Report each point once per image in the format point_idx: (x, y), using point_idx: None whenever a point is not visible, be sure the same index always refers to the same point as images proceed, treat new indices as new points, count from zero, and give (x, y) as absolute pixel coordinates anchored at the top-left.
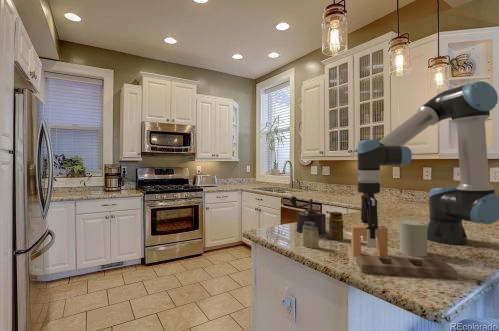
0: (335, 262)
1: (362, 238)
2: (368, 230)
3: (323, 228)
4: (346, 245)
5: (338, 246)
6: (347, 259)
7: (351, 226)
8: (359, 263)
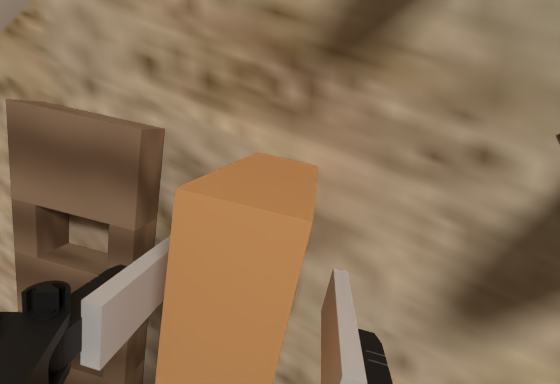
0: (155, 10)
1: (343, 277)
2: (93, 294)
3: None
4: (470, 193)
5: (456, 129)
6: (204, 98)
7: (303, 213)
8: (69, 111)
